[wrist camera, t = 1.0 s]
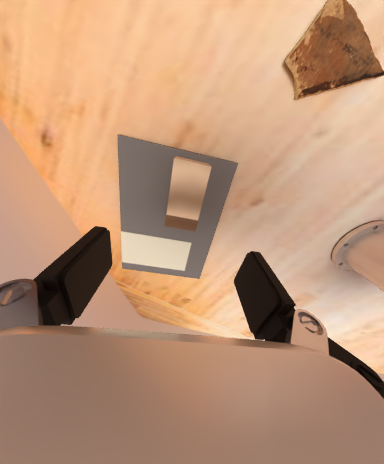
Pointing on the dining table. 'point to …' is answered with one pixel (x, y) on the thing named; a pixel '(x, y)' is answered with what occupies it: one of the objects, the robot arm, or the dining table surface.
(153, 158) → the mat
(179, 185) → the tan tapered block
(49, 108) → the dining table surface
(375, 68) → the shard
